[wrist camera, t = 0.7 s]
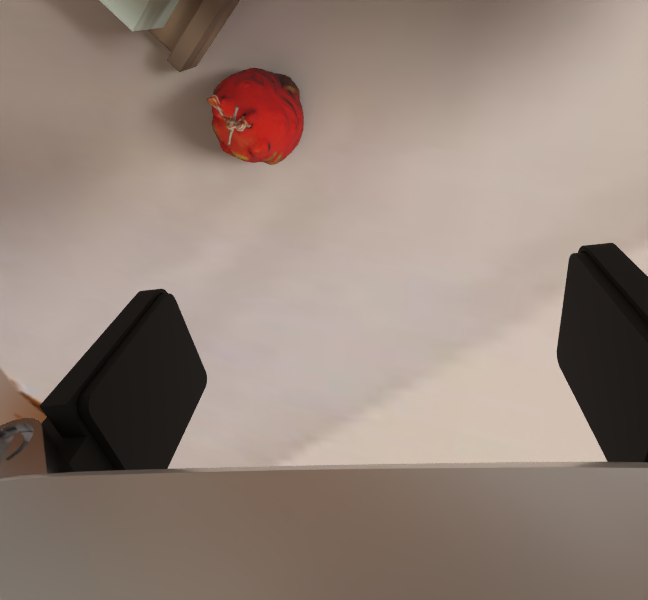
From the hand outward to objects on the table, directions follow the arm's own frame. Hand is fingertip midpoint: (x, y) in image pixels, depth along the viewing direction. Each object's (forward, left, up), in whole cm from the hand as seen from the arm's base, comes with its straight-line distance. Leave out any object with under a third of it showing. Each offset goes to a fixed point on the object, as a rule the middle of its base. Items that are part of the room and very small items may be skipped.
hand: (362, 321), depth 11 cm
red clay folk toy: (+8, -6, -33) cm, 34 cm away
